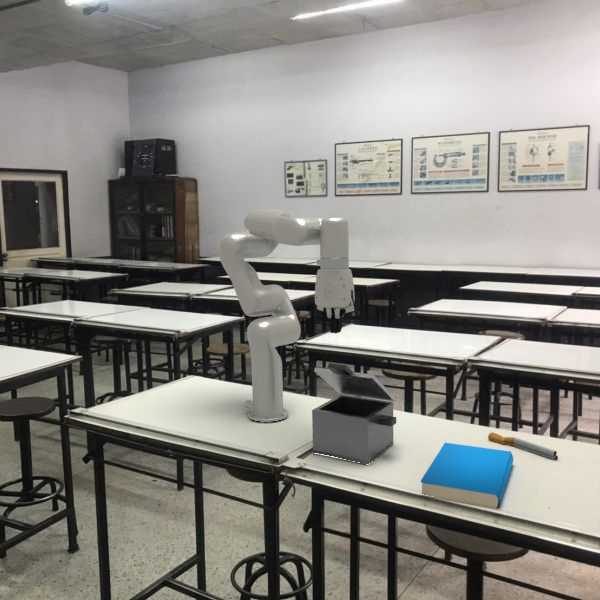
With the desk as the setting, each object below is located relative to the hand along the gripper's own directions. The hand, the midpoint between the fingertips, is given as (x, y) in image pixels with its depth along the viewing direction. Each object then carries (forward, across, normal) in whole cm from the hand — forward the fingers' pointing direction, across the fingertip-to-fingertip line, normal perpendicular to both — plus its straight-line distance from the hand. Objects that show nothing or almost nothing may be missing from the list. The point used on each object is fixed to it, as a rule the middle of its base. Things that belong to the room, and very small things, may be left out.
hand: (335, 332), depth 164 cm
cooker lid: (+13, +6, -3) cm, 14 cm away
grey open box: (+31, +8, -2) cm, 32 cm away
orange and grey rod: (+32, +45, +19) cm, 58 cm away
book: (+32, +38, -6) cm, 50 cm away
